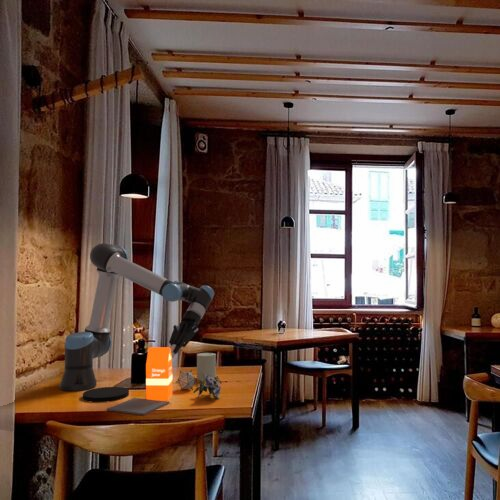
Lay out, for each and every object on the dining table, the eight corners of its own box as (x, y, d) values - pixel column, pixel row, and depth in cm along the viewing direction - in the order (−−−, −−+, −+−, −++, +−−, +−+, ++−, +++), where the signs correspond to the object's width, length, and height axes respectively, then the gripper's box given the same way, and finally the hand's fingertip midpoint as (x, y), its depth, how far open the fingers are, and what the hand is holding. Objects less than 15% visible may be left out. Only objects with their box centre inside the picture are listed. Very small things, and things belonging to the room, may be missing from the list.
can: (219, 378, 213) (219, 352, 214) (208, 381, 205) (208, 355, 206) (204, 376, 218) (204, 351, 219) (192, 379, 210) (192, 353, 211)
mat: (107, 410, 161) (107, 408, 161) (134, 399, 175) (134, 397, 175) (144, 415, 154) (144, 413, 154) (169, 403, 169) (169, 401, 169)
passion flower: (217, 412, 175) (221, 391, 169) (189, 408, 175) (193, 387, 169) (219, 390, 185) (224, 370, 179) (194, 386, 184) (197, 365, 178)
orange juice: (168, 400, 173) (168, 349, 173) (145, 400, 173) (145, 349, 174) (172, 394, 181) (172, 345, 181) (151, 394, 181) (150, 345, 181)
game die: (188, 399, 189) (191, 383, 184) (171, 391, 191) (173, 375, 185) (198, 385, 196) (201, 369, 191) (181, 377, 198) (183, 361, 193)
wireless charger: (72, 400, 176) (72, 395, 176) (104, 390, 192) (104, 385, 192) (108, 405, 169) (108, 399, 169) (137, 394, 185) (137, 389, 185)
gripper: (209, 321, 196) (185, 366, 181) (186, 320, 203) (160, 363, 187) (201, 309, 192) (176, 354, 176) (178, 309, 199) (151, 352, 183)
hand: (168, 359), depth 182 cm, fingers closed
